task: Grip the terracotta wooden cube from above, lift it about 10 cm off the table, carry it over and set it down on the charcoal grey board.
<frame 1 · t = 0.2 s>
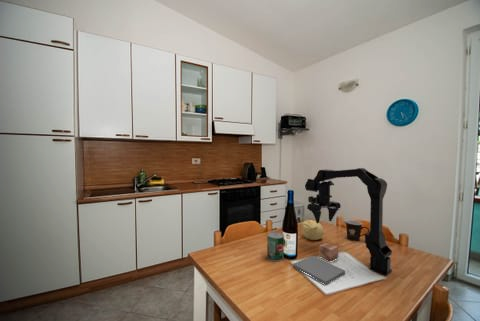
hand: (323, 222, 113), 14 cm above the table, tool pointing down, fingers open, 9 cm apart
charcoal board: (318, 270, 91), on the table
canned tomato: (275, 257, 103), on the table
terracotta cube: (328, 258, 102), on the table
coffee mug: (355, 240, 125), on the table
pale yellow rounded lump: (312, 238, 127), on the table
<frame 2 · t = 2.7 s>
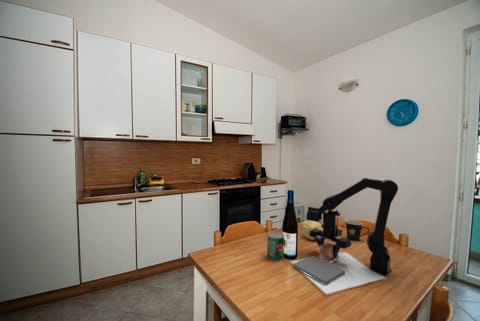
hand: (328, 255, 102), 1 cm above the table, tool pointing down, fingers closed on terracotta cube, 6 cm apart
terracotta cube: (328, 258, 102), on the table, touching gripper
everything else where it was.
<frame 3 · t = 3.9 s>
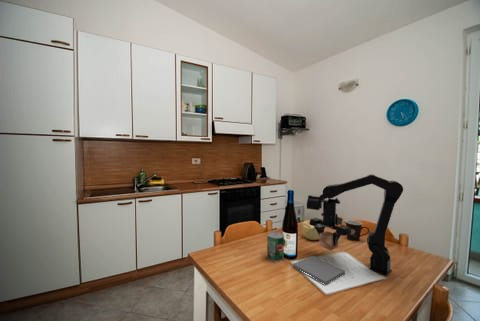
hand: (328, 243, 102), 7 cm above the table, tool pointing down, fingers closed on terracotta cube, 6 cm apart
terracotta cube: (328, 246, 102), point 6 cm above the table, touching gripper
everything else where it was.
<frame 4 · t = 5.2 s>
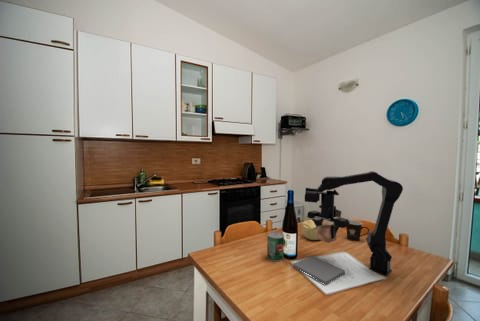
hand: (326, 236, 100), 11 cm above the table, tool pointing down, fingers closed on terracotta cube, 6 cm apart
terracotta cube: (326, 239, 100), point 10 cm above the table, touching gripper
everything else where it was.
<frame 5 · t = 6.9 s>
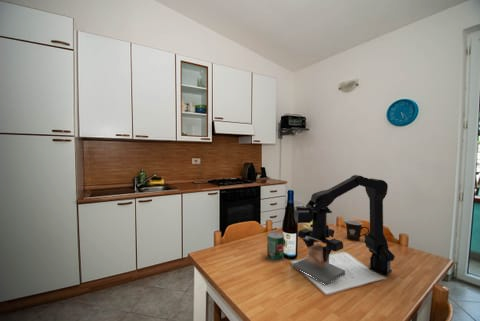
hand: (318, 258, 91), 5 cm above the table, tool pointing down, fingers closed on terracotta cube, 6 cm apart
terracotta cube: (318, 261, 91), point 4 cm above the table, touching gripper
everything else where it was.
when the fingers open (4 cm above the table, at t = 8.0 s): terracotta cube drops 1 cm, resting on charcoal board.
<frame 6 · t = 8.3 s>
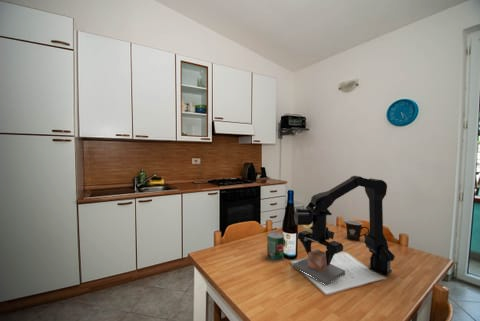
hand: (318, 260, 91), 4 cm above the table, tool pointing down, fingers open, 9 cm apart
terracotta cube: (318, 267, 91), point 1 cm above the table, touching charcoal board
everything else where it was.
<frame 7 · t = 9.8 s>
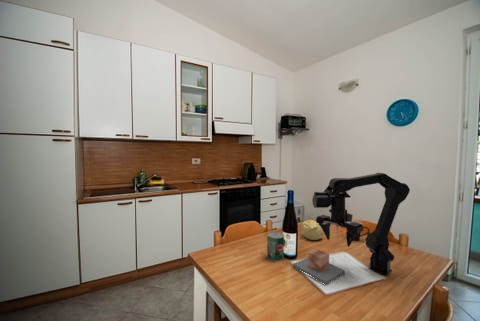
hand: (338, 242, 92), 12 cm above the table, tool pointing down, fingers open, 9 cm apart
nothing on the table moved.
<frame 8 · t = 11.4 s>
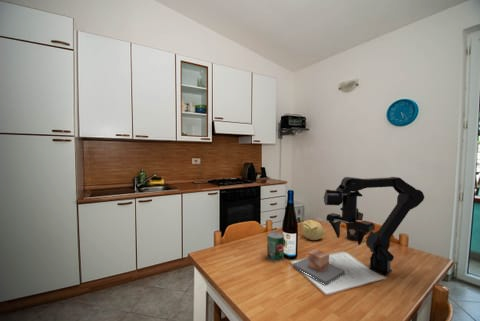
hand: (348, 240, 93), 12 cm above the table, tool pointing down, fingers open, 9 cm apart
nothing on the table moved.
at the end: terracotta cube inside the target area on the charcoal board (0.0 cm from its centre), point 1.5 cm above the charcoal board's base; terracotta cube tilted 0°; the gripper is holding nothing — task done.
